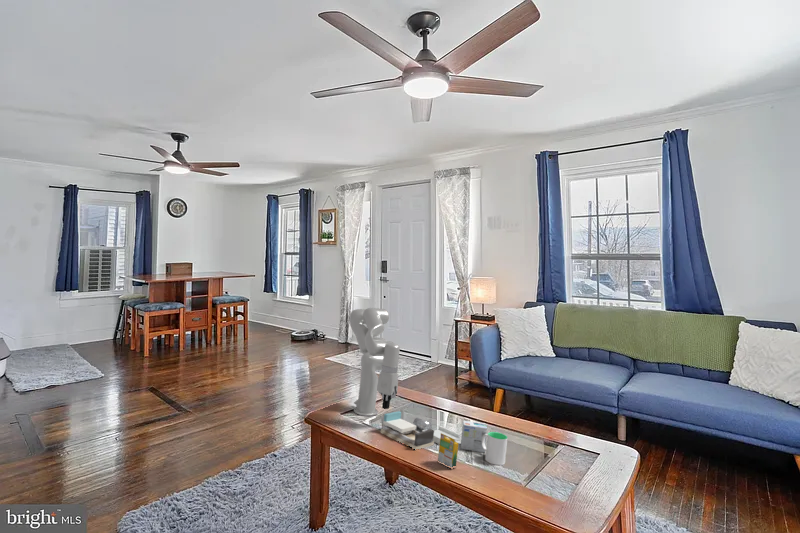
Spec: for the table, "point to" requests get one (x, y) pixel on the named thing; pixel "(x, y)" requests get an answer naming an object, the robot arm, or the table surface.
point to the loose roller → (422, 424)
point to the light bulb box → (473, 436)
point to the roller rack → (446, 432)
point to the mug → (495, 447)
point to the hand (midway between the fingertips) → (385, 408)
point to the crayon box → (448, 451)
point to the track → (411, 437)
